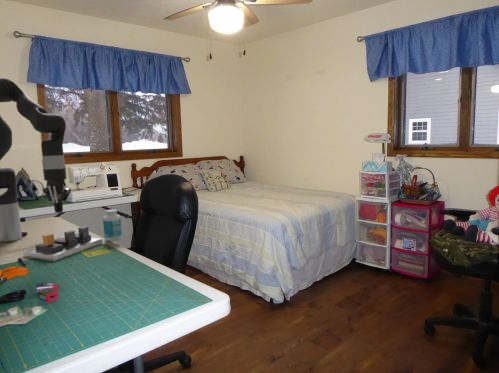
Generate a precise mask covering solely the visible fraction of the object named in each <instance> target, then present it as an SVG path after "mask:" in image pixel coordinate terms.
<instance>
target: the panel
mask: <svg viewBox="0 0 499 373" xmlns="http://www.w3.org/2000/svg"><path fill="white" fill-rule="evenodd" d="M63 235H64V237H58V238H54V243H55V244H52V245H48V246H46V245H43V242H42V243H39V244H36V245H35V247H32V248H30V249H27V250H23V257H24V258H31V259H38V260H44V261H50V262H56V261H59V260H61V259H64V258H66V257H70V256H73V255H74V254H75V255H76V254H78V253H81V252H83V251H85V250H88V249H90V248H94V247H96V246H99V245H101V243H102V244H103V243H104V242H103V238H98V237H93V236H92V235H91V234H89V226H81V227H78V233H76V231H75V230H67V231H64V234H63Z"/></svg>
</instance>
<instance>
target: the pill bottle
mask: <svg viewBox="0 0 499 373" xmlns="http://www.w3.org/2000/svg"><path fill="white" fill-rule="evenodd" d="M121 219H122V218H121V216H120V214H118V210H117V209H107V210H105V215H104V216H103V218H102V223H103V224H102V225H103V235H104V236H103V237H104V240H105V241H106V242H116V241H117V242H118V241H120V240H121V239H122V237H123V235H122V234H123V231H122V220H121Z"/></svg>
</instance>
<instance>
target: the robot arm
mask: <svg viewBox="0 0 499 373" xmlns="http://www.w3.org/2000/svg"><path fill="white" fill-rule="evenodd" d="M10 102H13V103H16V110H17V112H18V113H19V115H20V116H22V117H23V118H25V119H26V120H28V121H29V122H30V124H31V125H32V128H33V129H34V130H35V131H37V132H39V133H43V134H51V135H50V138H48V139H44V140H42V141H41V143H40V144H41V145H40V146H41V147H40V148H41V154H42V155H41V156H42V160H41V162H42V171H43V180H44V181H46V187H43V188H42V192H43V194H44V195H45V196H46V198H47V199H48V201H49V202H52V203H53V209H54V212H55V213H57V214H58V213H59V214H60V213H63V211H64V205H63V203H64V202H66V201H67V200H68V198H69V196H70V194H71V192H72V189H71V188H69V187H67V184H66V181H65V180H67V169H66V159H65V156H64V147H63V144H64V143H63V142H64V139H65V138H64V137H65V132H66V129H67V128H66V126H67V125H66V124H67V123H66V120H65V119H64V117H63V116H62V115H61V114H57V113H48V112H47V110H46V109H45V108H44V107H43V106H42V105H40V104H38V103H37V102H36V101H34V100H33V99H31V97H29V96H28V95H27V94H26V93H25V91H23V89H22V88H21V87H20V86H19V85H18V84H17V83H16V82H14V81H13V80H11V79H9V78H5V77H4V78H0V103H10ZM12 146H13V132H12V129H11V127H10V125H9V124H8V123H7V122H6V120H5V119H3V117H2V116H1V115H0V161H1V160H2V159H3V158H4V157H5V155H7V153H8V152H9V151H10V150H11V148H12ZM1 189H6V191H5V192H4V193H2V194H0V242H1V243H5V242H13V241H18V240H21V239H22V238H23V234H22V233H23V232H22V227H21V225H22V224H21V216H20V210H19V209H20V208H19V201H18V193H17V192H18V191H17V176H16V171H15V170H14V169H13V168H11V167H5V168H3V167H2V168H0V190H1Z"/></svg>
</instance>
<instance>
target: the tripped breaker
mask: <svg viewBox="0 0 499 373" xmlns="http://www.w3.org/2000/svg"><path fill="white" fill-rule="evenodd" d="M54 240H55V235H54V233H46V234H43V235H42V243H43V245H46V246H48V245H52V244H55V243H54Z"/></svg>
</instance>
